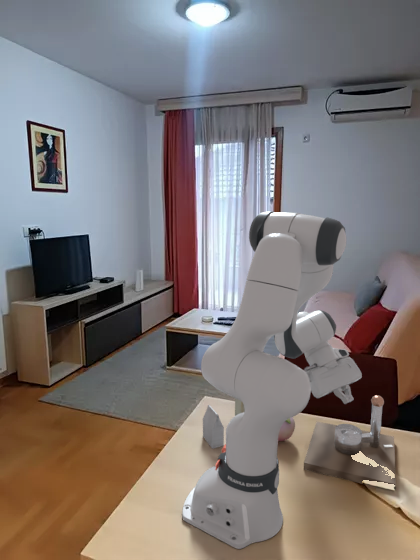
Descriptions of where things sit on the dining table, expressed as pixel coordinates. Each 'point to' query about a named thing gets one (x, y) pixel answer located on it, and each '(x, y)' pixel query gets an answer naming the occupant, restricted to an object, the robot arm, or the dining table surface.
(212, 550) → the dining table surface
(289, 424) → the decorative fruit
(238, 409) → the skincare box
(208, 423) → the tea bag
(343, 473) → the stand
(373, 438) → the crank handle
